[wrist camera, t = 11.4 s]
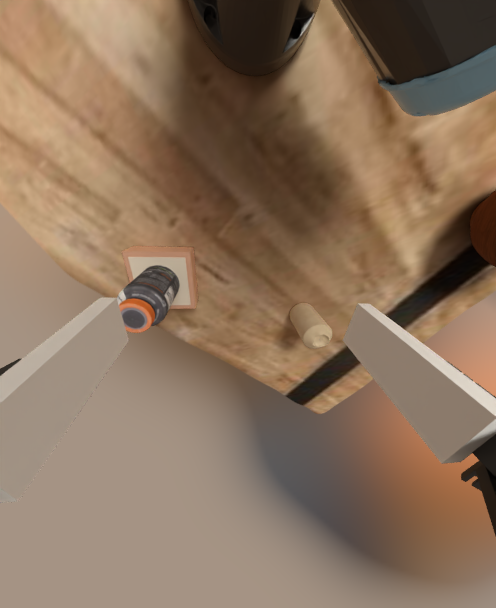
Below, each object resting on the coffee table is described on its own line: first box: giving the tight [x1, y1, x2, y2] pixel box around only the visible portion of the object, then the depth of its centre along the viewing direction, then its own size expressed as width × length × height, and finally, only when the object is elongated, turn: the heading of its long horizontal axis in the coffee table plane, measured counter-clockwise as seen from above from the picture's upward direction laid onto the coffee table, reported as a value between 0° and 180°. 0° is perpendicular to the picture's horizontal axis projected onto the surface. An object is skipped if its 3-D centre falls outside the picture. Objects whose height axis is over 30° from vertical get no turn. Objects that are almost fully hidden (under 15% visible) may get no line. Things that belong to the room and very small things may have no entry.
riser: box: [122, 246, 198, 309], centre depth 33 cm, size 10×10×4 cm
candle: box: [289, 303, 332, 349], centre depth 38 cm, size 6×6×10 cm
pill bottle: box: [117, 265, 180, 333], centre depth 26 cm, size 6×6×11 cm
